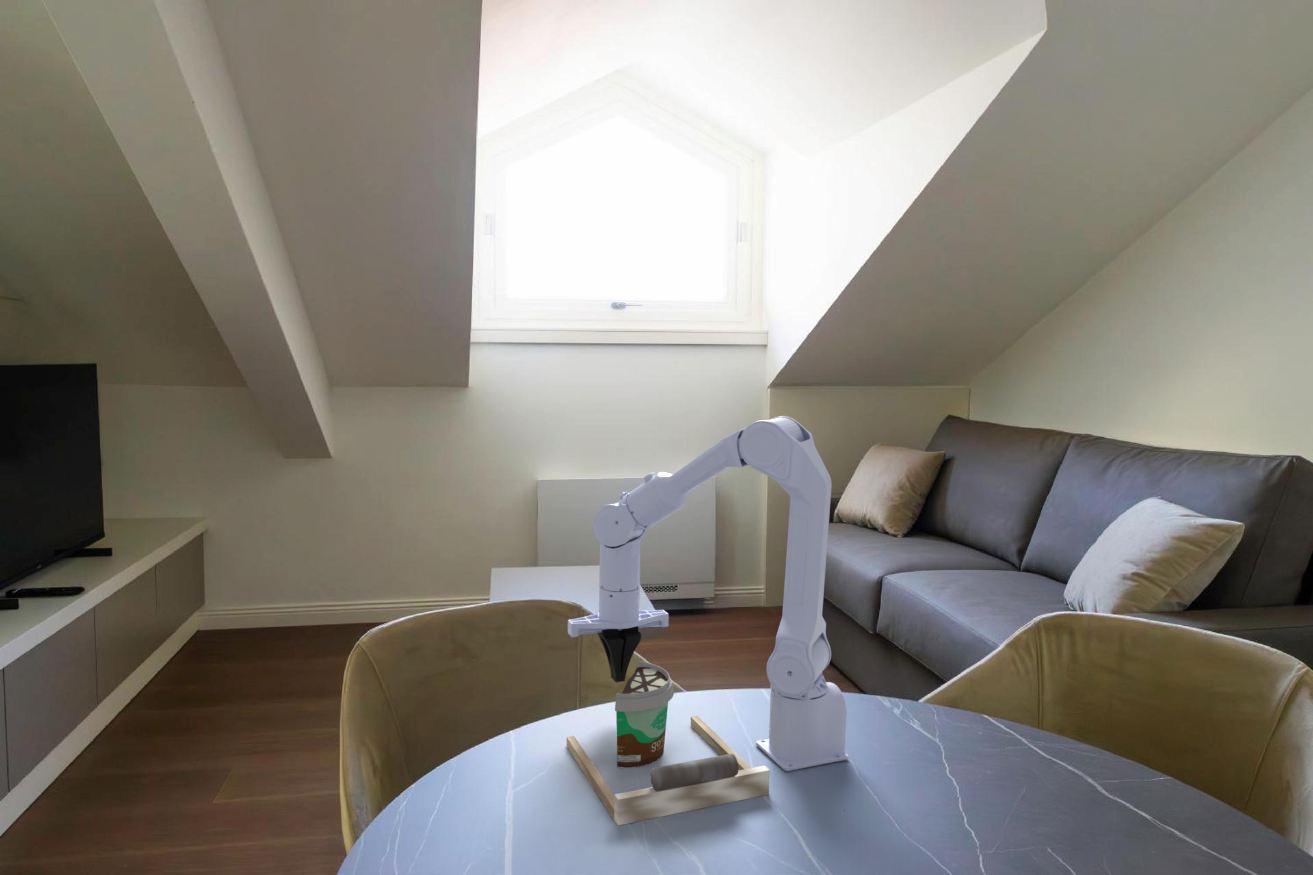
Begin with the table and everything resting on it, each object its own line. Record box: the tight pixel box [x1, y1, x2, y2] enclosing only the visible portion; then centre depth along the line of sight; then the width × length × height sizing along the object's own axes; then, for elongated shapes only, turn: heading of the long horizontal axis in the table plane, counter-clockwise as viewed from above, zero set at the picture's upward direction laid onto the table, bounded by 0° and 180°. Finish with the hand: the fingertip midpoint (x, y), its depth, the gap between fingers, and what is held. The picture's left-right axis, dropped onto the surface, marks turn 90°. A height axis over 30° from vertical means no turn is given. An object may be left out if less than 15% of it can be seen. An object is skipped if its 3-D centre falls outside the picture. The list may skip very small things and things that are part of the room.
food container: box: [614, 660, 675, 769], centre depth 110 cm, size 12×6×10 cm, turn 168°
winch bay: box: [566, 715, 771, 826], centre depth 105 cm, size 19×21×5 cm
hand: (617, 679), depth 121 cm, fingers closed
